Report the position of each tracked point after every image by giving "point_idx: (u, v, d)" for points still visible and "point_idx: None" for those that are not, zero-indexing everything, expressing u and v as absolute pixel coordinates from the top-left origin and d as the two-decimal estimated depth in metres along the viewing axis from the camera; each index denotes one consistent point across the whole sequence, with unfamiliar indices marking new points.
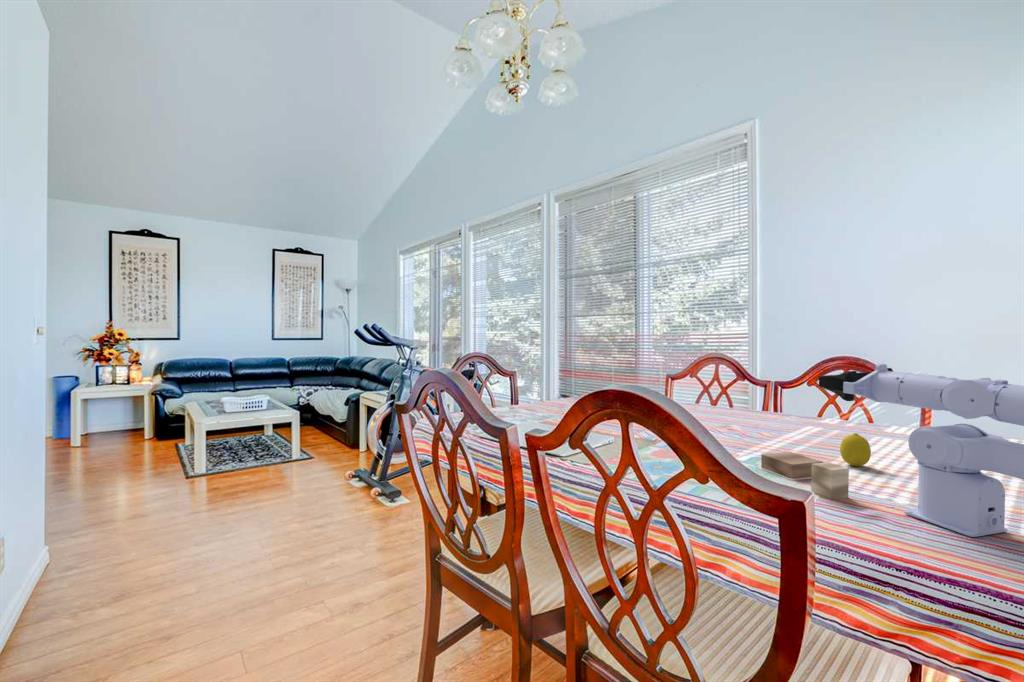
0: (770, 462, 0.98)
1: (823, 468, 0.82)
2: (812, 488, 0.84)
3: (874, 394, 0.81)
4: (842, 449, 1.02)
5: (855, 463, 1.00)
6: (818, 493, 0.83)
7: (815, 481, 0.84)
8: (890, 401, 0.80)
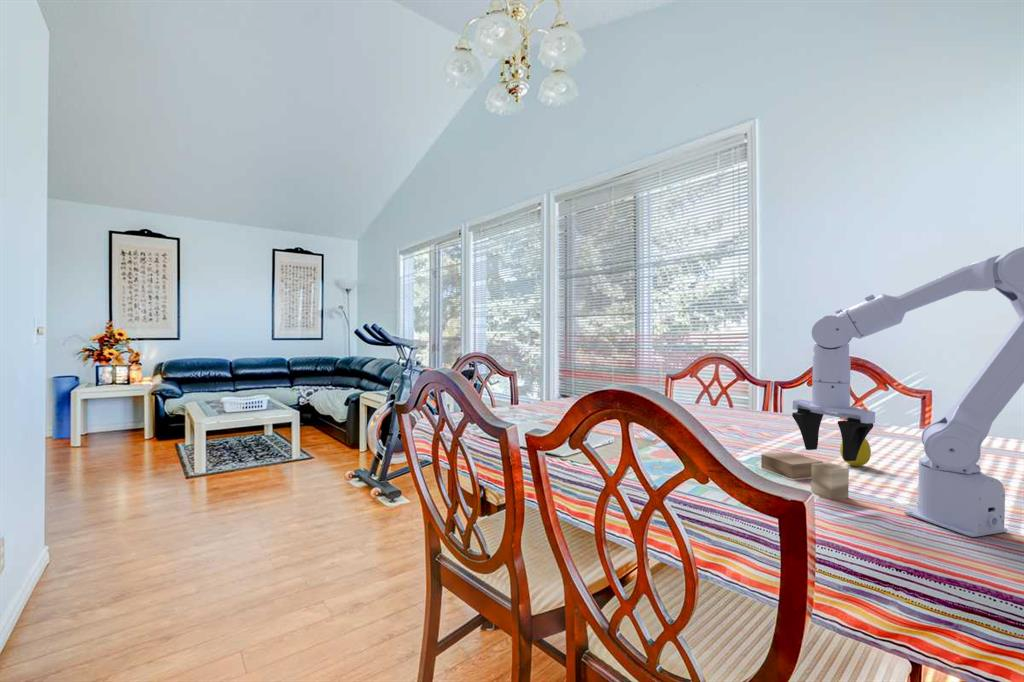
0: (770, 462, 0.98)
1: (823, 468, 0.82)
2: (812, 488, 0.84)
3: (849, 405, 0.81)
4: (842, 449, 1.02)
5: (855, 463, 1.00)
6: (818, 493, 0.83)
7: (815, 481, 0.84)
8: None
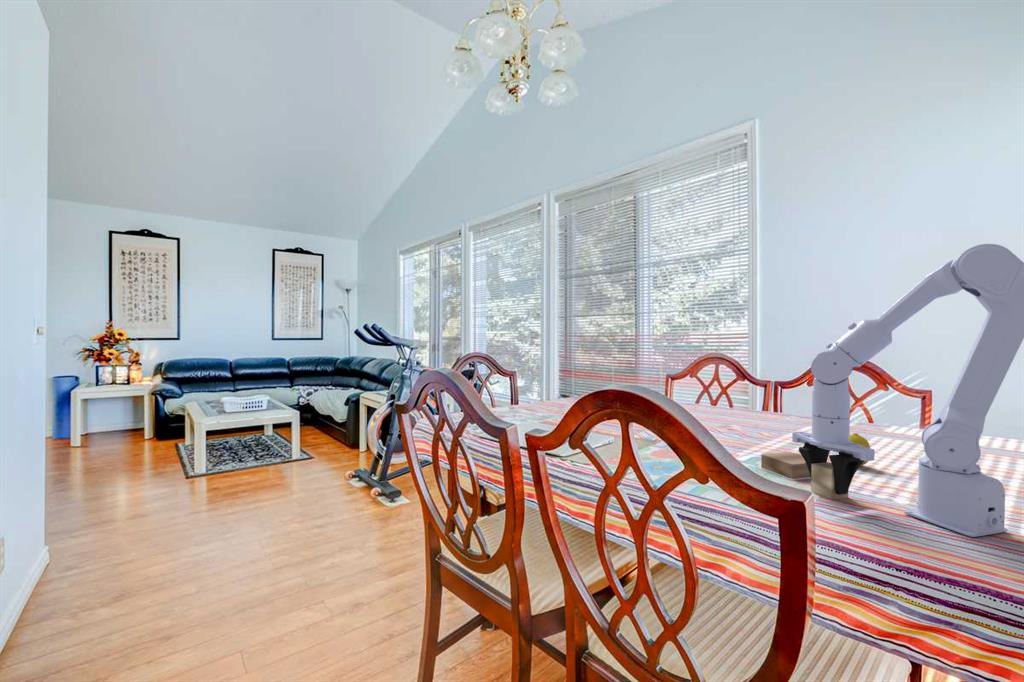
0: (770, 462, 0.98)
1: (823, 468, 0.82)
2: (812, 488, 0.84)
3: (848, 440, 0.81)
4: None
5: None
6: (818, 493, 0.83)
7: (815, 481, 0.84)
8: None
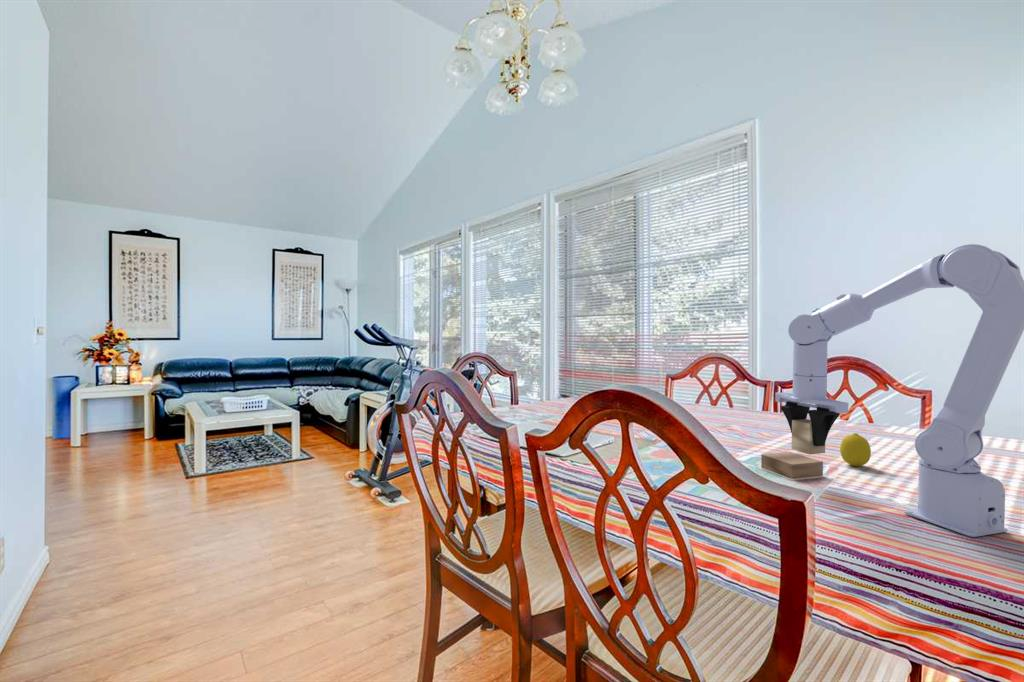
0: (770, 462, 0.98)
1: (802, 423, 0.89)
2: (792, 442, 0.91)
3: (826, 397, 0.88)
4: (842, 449, 1.02)
5: (855, 463, 1.00)
6: (798, 446, 0.90)
7: (795, 435, 0.91)
8: None
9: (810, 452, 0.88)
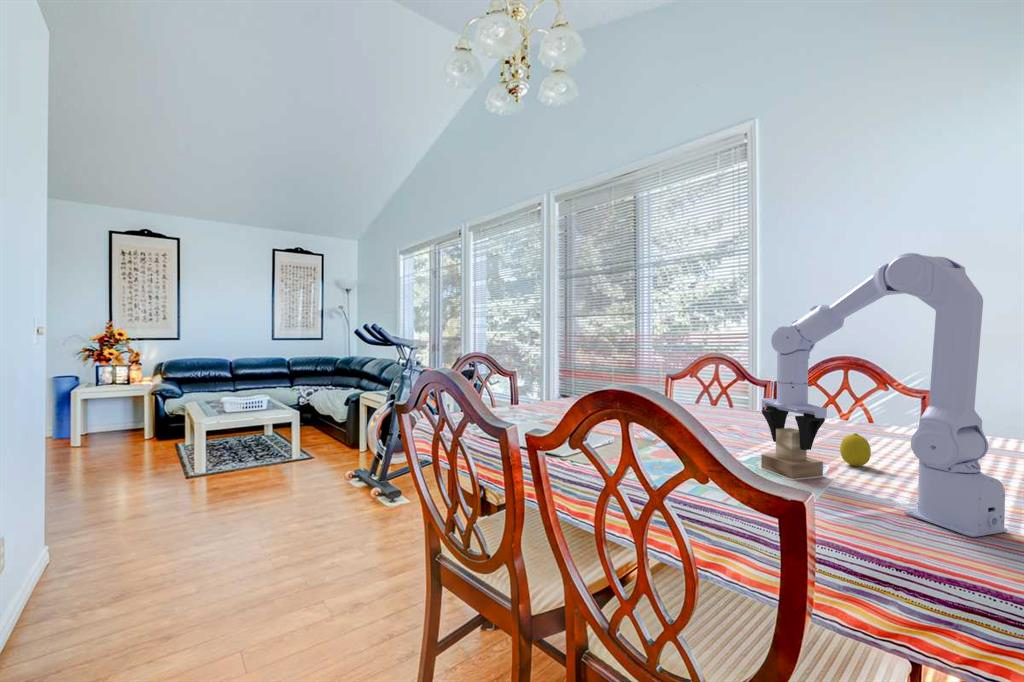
0: (770, 462, 0.98)
1: (785, 432, 0.96)
2: (776, 449, 0.98)
3: (807, 402, 0.95)
4: (842, 449, 1.02)
5: (855, 463, 1.00)
6: (781, 453, 0.97)
7: (779, 443, 0.98)
8: None
9: (792, 459, 0.95)
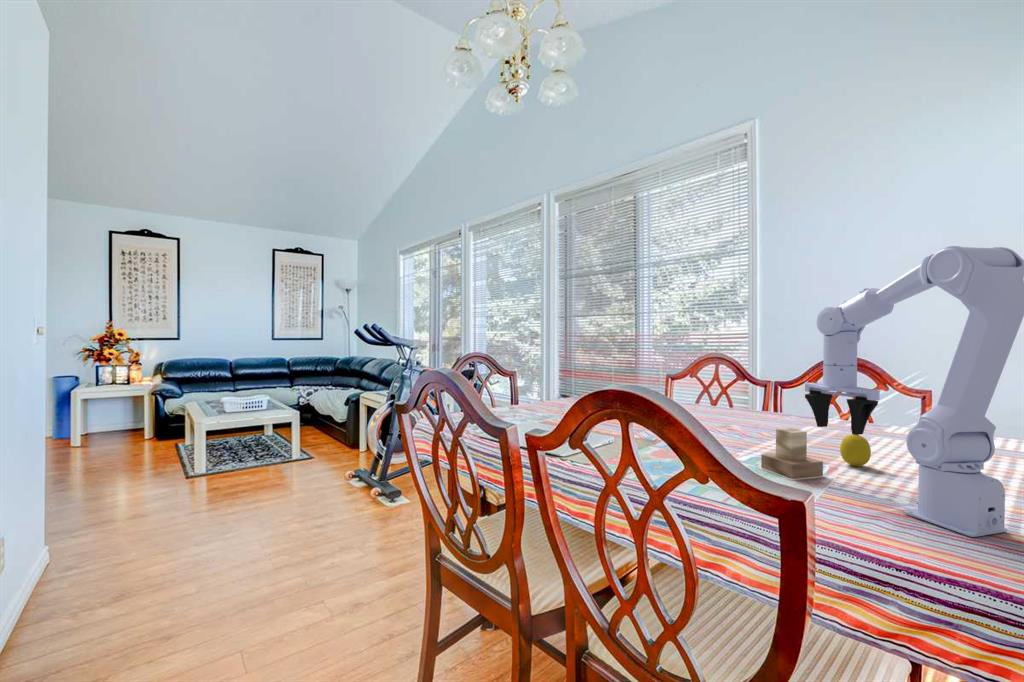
0: (770, 462, 0.98)
1: (785, 432, 0.96)
2: (776, 449, 0.98)
3: (856, 385, 0.92)
4: (842, 449, 1.02)
5: (855, 463, 1.00)
6: (781, 453, 0.97)
7: (779, 443, 0.98)
8: None
9: (792, 459, 0.95)
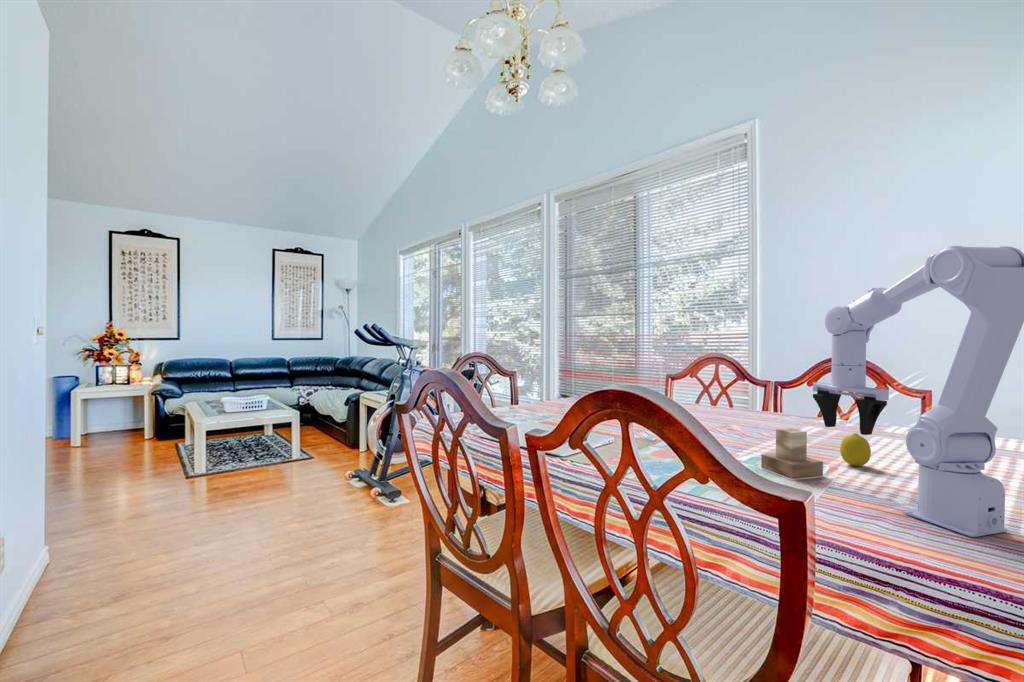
0: (770, 462, 0.98)
1: (785, 432, 0.96)
2: (776, 449, 0.98)
3: (865, 385, 0.91)
4: (842, 449, 1.02)
5: (855, 463, 1.00)
6: (781, 453, 0.97)
7: (779, 443, 0.98)
8: None
9: (792, 459, 0.95)
